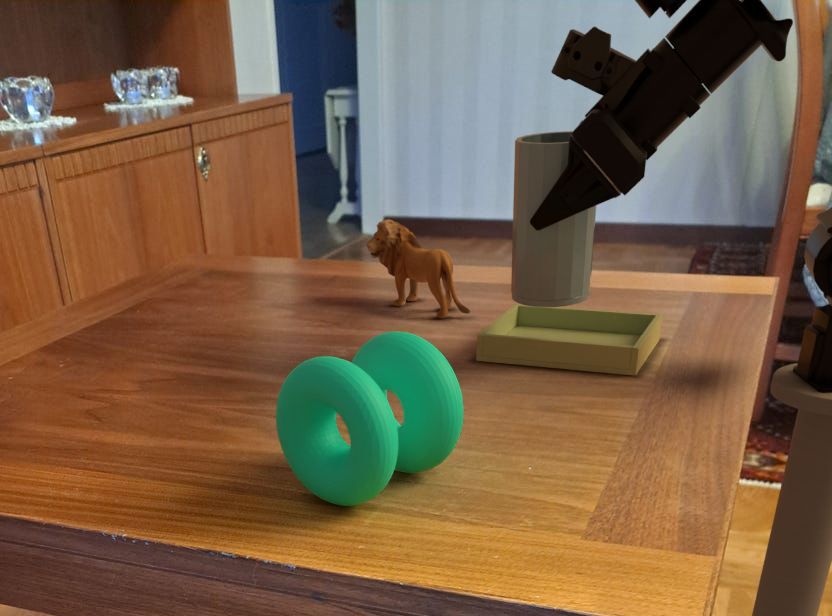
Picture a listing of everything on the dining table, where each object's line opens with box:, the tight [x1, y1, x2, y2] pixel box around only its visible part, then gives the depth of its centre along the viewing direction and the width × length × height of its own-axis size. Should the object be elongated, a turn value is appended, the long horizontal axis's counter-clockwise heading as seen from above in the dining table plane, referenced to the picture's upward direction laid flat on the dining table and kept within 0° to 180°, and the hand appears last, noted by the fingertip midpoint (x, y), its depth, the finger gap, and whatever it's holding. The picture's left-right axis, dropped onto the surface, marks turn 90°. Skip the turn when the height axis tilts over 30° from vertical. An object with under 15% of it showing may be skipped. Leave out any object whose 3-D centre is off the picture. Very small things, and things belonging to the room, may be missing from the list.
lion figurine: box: [365, 219, 471, 319], centre depth 107 cm, size 15×5×9 cm, turn 43°
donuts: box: [275, 330, 465, 507], centre depth 65 cm, size 10×10×10 cm
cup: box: [510, 130, 597, 307], centre depth 83 cm, size 7×7×13 cm
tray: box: [475, 303, 664, 377], centre depth 92 cm, size 15×12×2 cm
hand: (537, 218), depth 83 cm, fingers closed on cup, 7 cm apart
